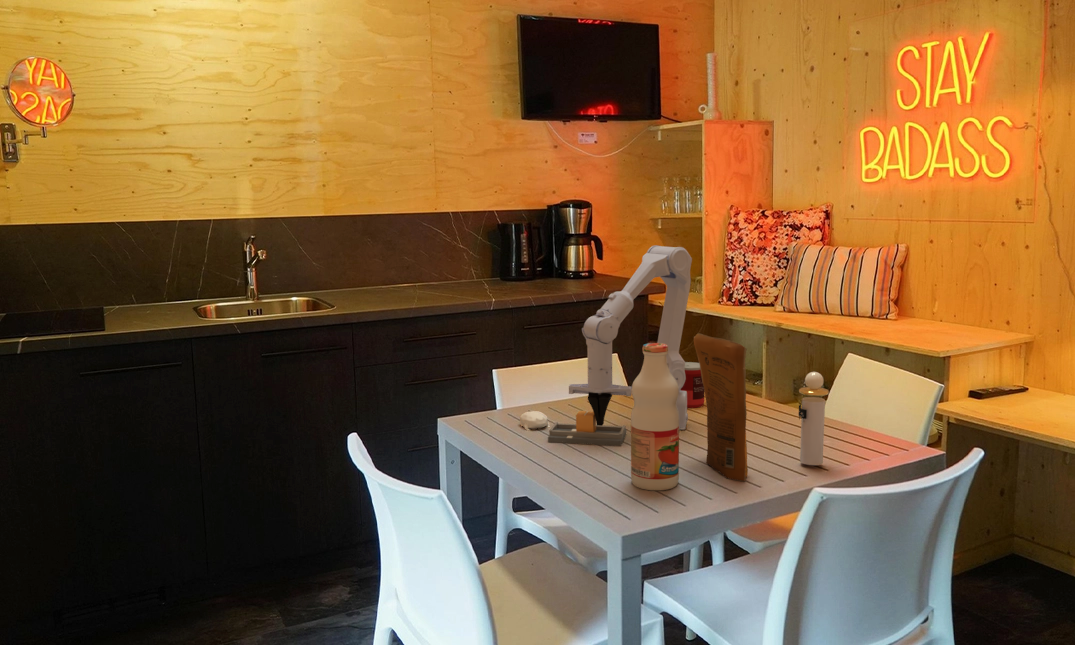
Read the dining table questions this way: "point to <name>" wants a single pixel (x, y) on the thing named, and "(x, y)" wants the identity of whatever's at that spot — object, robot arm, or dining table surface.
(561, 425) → the fader console
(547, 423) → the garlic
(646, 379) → the fruit juice
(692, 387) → the canned food
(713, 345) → the pancake mix bag
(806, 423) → the perfume bottle
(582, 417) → the fader tab
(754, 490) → the dining table surface
